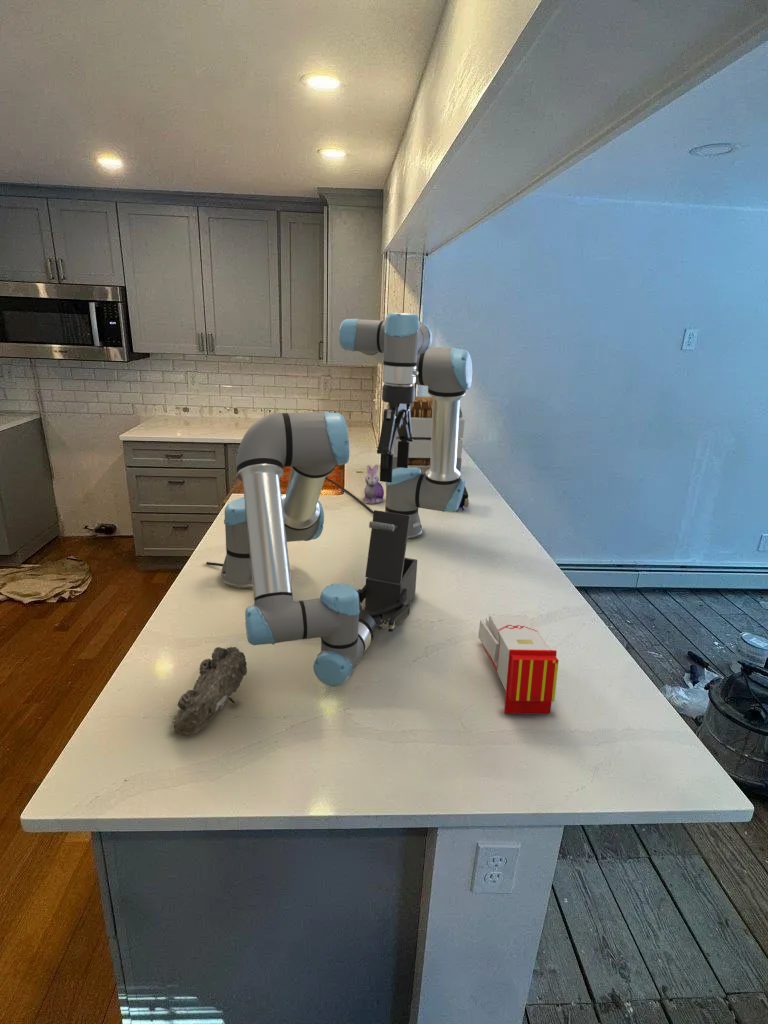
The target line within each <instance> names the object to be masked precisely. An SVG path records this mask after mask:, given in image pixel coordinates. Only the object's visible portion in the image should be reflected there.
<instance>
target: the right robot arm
mask: <svg viewBox="0 0 768 1024" xmlns="http://www.w3.org/2000/svg"><path fill="white" fill-rule="evenodd" d="M433 340H434V337H433V332H432V329H431V328H430V326H429V325H427V324H426V323H424V322H422V321H420V316H419V315H418V314H416V313H407V312H403V313H402V312H388V313H387V314H386V315H385V319H384V320H379V319H378V320H377V319H363V318H361V319H360V318H346V319H344V320H343V321H342V322H341V323H340V326H339V330H338V341H339V346H340V347H341V349H343V350H344V351H349V352H358V353H359V352H360V353H361V354H364V355H365V356H367V357H368V358H371V359H372V360H374V361H375V362H377V363H379V364H380V365H381V366H382V379H381V381H382V382H383V383H384V384H383V385H382V387H381V388H382V390H381V400H382V402H384V403H389V405H390V406H389V409H387V408H384V410H383V418H382V424H381V429H380V434H379V435H380V436H379V440H378V441H379V442H378V446H377V449H376V454H379V455H380V464H379V465H380V467H379V482H384V483H385V504H384V505H385V507H384V508H385V509H384V512H390V513H397V514H403V515H410V523H409V530H408V538H407V541H410V540H415V539H418V538H420V537H421V536H422V535H423V525H422V524H421V518H420V515H419V509H424V510H431V511H437V512H442V513H445V512H446V513H456V512H457V511H458V509H459V508H458V507H459V505H460V502H461V499H462V496H463V492H464V487H466V480H465V479H464V478H461V474H460V472H459V471H458V470H457V469H456V461H457V444H458V428H459V411H460V408H461V399H462V398H464V396H465V395H466V391H467V390H469V389H470V388H471V386H472V383H473V361H472V357H471V354H470V353H469V351H468V350H466V349H465V348H464V349H462V348H457V347H445V346H432V344H433ZM415 385H417V386H424V387H427V394H428V395H429V397H432V398H433V403H432V430H431V458H430V466H429V468H428V469H426V470H425V473H422V470H421V468H419V467H417V466H408V457H409V442H408V441H410V442H412V441H413V437H412V426H411V413H410V406H411V404H410V403H413V402H414V400H415V397H416V387H415ZM397 431H398V435H399V439H400V440H401V441H398V452H397V467H401V468H396V469H393V454H392V450H393V446H394V442H395V438H396V435H397ZM392 469H393V470H392ZM325 480H327V481H328V482H330V483H332V484H333V485H335V486H337V487H338V488H339V489H341V490H343V491H344V492H345V493H347V494H348V495H349V496H350V497H352V498H353V499H354V500H356V501H357V502H358V503H360V504H361V505H362V506H363V507H364V508H365V509H366V510H367V511H369V512H370V513H371V514H372V515H373V514H374V510H373V509H371V508H370V507H369V506H368V505H367V504H366V503H365V502H363V501H361V499H359V498H358V497H357V496H356V495H354V494H353V493H351V492H350V491H349V490H347V489H346V488H344V487H343V486H341V485H340V484H338V483H337V482H335V481H334V480H332V479H330V478H328V477H327V476H326V477H325Z"/></svg>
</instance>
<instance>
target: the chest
mask: <svg viewBox="0 0 768 1024" xmlns="http://www.w3.org/2000/svg"><path fill="white" fill-rule="evenodd" d="M417 572H418V559H415V558H410V557H405V560H404V567H403V575H402V582H401V583H395V582H389V581H384V580H379V579H373V578H368V577H365V585H366V593H365V599H364V609H365V610H368V611H377V610H379V609H381V610H383V609H385V608H387V607H389V606H392V605H394V604H396V603H397V599H398V598H399V596H400V595H401V593H402V591H403V590H404V589H407V604H409V605H411V603H412V601H413V599H414V597H415V595H416V589H417V588H416V587H417ZM386 621H387V620H386ZM386 621H385V622H386Z"/></svg>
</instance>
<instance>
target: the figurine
mask: <svg viewBox="0 0 768 1024" xmlns="http://www.w3.org/2000/svg"><path fill="white" fill-rule="evenodd" d="M378 469H379V465H378V464H375V465H374V466H373V468H371V465H369V464H368V465H366V475H365V479H364V480H365V484H366V485H365V487H364V492H363V493H364V497H363V501H364V504H370V505H374V504H379V503H381V502H383V501H384V497H385V496H384V495H385V490H384V487H383V484H381V483H380V477H379V475H378V473H377V472H378Z"/></svg>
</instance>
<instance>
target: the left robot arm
mask: <svg viewBox="0 0 768 1024" xmlns="http://www.w3.org/2000/svg"><path fill="white" fill-rule="evenodd" d="M235 459H236V461H235V467H236V477H237V479H238V480H239V481H240V482H241V483H242V488H243V489H242V490H243V497H239V498H236V499H234V500H232V501H230V502H229V503H228V504H227V505H225V508H224V519H223V524H224V530H225V551H226V553H225V557H224V558H225V559H224V561H223V563H220V562H219V563H218V562H209V561H206V562H205V564H206V565H207V566H215V567H221V570H220V571H221V572H220V579H221V583H222V584H223V585H225V586H227V587H228V588H231V589H238V590H252V594H253V600H254V601H253V605H251V606H248V607H246V608H245V611H244V619H245V632H246V639H247V642H248V643H249V644H250V645H253V646H262V645H275V644H279V643H288V642H293V641H301V640H309V639H318V638H320V652H319V653H318V654H317V655H316V657H315V659H314V661H313V666H312V667H313V672H314V675H315V677H316V678H317V679H318V681H319V682H321V683H322V684H323V685H326V686H330V687H338V686H342V685H343V684H345V683H346V681H347V680H348V679H349V677H351V676H352V674H353V673H354V670H355V669H356V667H357V665H358V663H359V662H360V660H361V659H362V657H363V655H364V654H365V653H366V651H367V649H368V648H369V646H370V644H371V643H372V642H373V640H374V639H375V637H376V636H377V633H378V631H381V630H382V629H388V630H387V631H388V632H389V633H393V632H394V631H395V628H396V627H397V626H398V625H399V624H400V623H402V622H403V621H404V620H405V619H406V618H408V616H410V614H411V613H410V612H411V604H407V589H404V590H403V591H402V593H401V595H400V596H399V598H398V599H397V603H396V604H394V605H392V606H389V607H387V608H385V609H383V610H381V609H379V610H377V611H368V610H365V608H363V605H362V603H363V602H364V601H365V593H366V584H364V586H363V587H362V588H358V589H356V588H354V587H353V586H352V585H350V584H346V583H333V584H331V585H327V586H325V587H324V588H322V590H321V593H320V597H319V598H313V599H303V600H295V599H294V594H293V593H294V591H293V583H292V575H291V567H290V566H291V565H290V558H289V551H288V549H289V548H288V543H290V542H291V543H293V542H301V541H302V542H308V541H312V540H317V539H318V538H320V537H321V535H322V533H323V530H324V523H325V513H324V507H323V504H322V503H321V501H319V499H320V495H321V492H322V489H323V486H324V484H325V480H326V479H325V477H327V476H329V475H331V474H332V473H333V471H334V470H335V469H336V467H337V465H338V466H342V465H347V464H348V463H349V461H350V440H349V432H348V426H347V422H346V419H345V417H344V416H343V414H341V413H339V412H329V411H317V412H316V411H315V412H314V411H313V412H271V413H269V414H265V415H264V416H261V417H259V419H257V420H256V421H254V422H253V424H251V426H250V427H249V428H248V430H246V432H245V434H244V435H243V437H242V440H241V442H240V444H239V446H238V449H237V454H236V458H235ZM285 467H286V468H287V467H288V468H289V467H290V473H289V478H288V482H287V487H286V491H285V494H283V495H282V491H281V490H282V489H281V482H280V479H281V478H282V477H283V475H284V468H285ZM386 620H387V621H386Z"/></svg>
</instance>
